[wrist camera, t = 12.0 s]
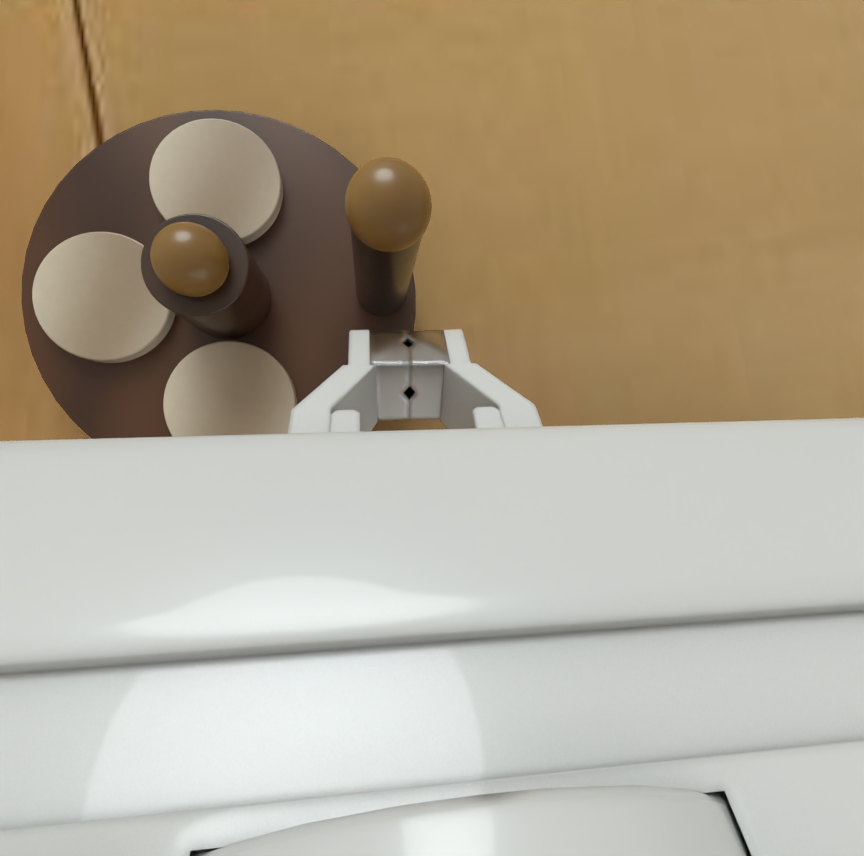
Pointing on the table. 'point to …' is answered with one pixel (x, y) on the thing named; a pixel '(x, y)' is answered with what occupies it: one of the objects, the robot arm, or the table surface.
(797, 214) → the table surface
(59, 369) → the brown round base
